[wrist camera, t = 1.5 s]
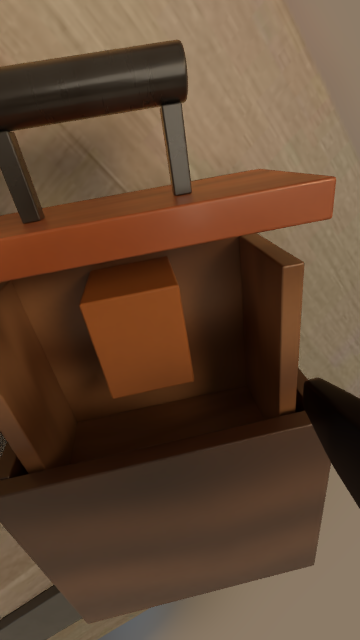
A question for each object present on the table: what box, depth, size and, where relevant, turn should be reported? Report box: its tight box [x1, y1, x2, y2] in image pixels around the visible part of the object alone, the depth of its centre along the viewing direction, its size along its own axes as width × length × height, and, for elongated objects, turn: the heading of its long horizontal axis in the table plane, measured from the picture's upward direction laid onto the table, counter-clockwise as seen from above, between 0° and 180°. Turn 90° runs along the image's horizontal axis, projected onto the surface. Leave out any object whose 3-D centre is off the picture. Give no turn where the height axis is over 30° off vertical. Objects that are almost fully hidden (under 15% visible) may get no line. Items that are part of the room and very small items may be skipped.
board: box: [0, 585, 82, 640], centre depth 32 cm, size 30×6×1 cm, turn 130°
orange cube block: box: [79, 256, 194, 399], centre depth 13 cm, size 5×4×4 cm
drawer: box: [0, 40, 336, 474], centre depth 13 cm, size 16×13×6 cm
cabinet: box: [0, 368, 331, 624], centre depth 19 cm, size 14×15×8 cm
